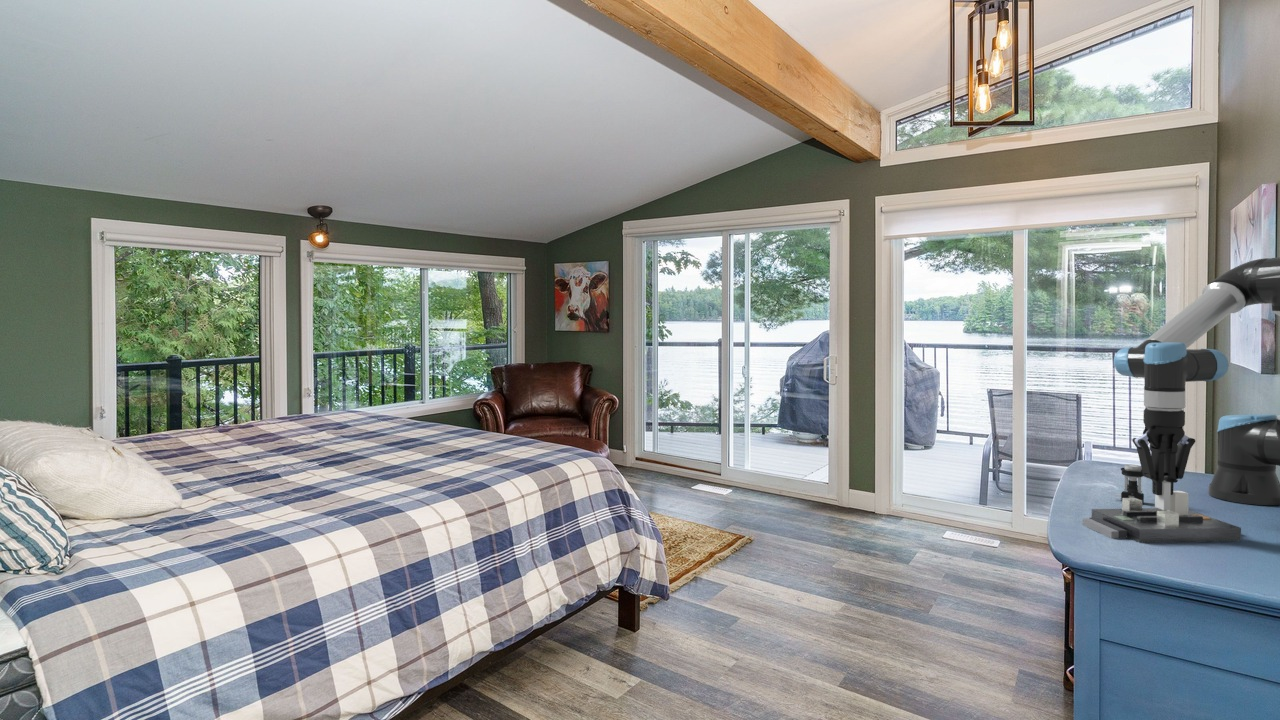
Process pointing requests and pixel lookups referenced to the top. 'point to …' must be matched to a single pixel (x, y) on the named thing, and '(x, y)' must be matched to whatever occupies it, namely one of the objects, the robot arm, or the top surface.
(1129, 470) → the push button
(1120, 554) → the top surface
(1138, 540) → the panel
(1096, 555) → the top surface
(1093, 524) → the narrow gray bar
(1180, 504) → the lever
